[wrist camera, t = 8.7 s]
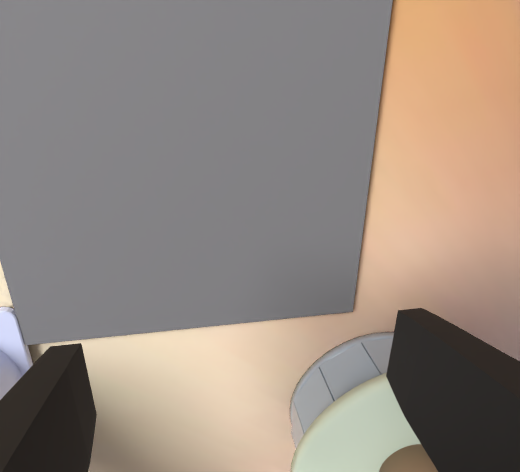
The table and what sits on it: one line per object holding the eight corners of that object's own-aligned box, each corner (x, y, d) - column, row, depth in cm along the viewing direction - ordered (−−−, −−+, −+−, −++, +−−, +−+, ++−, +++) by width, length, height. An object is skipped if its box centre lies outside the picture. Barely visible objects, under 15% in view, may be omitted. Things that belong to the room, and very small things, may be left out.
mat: (28, 338, 19) (24, 345, 19) (-90, -80, 12) (-100, -85, 12) (349, 306, 22) (352, 311, 21) (393, -52, 15) (399, -55, 15)
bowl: (286, 465, 26) (303, 530, 23) (293, 342, 22) (315, 398, 19) (426, 442, 28) (463, 499, 24) (458, 323, 24) (507, 372, 20)
